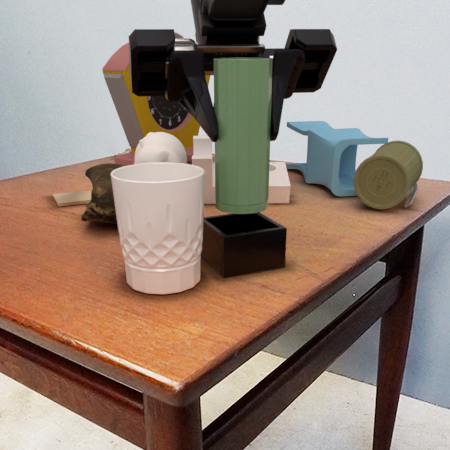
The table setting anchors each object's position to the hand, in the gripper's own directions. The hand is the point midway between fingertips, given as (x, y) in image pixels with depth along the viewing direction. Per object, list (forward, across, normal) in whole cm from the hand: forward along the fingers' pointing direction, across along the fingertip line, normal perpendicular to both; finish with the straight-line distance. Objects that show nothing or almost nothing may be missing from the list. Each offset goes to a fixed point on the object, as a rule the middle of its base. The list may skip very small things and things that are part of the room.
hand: (245, 138), depth 48 cm
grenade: (-4, +21, +16) cm, 27 cm away
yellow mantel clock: (-29, -2, +46) cm, 55 cm away
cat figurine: (-15, -6, +33) cm, 36 cm away
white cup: (+10, -8, +7) cm, 15 cm away
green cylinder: (+4, 0, +6) cm, 7 cm away
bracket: (-9, +5, +26) cm, 28 cm away
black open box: (+8, 0, +10) cm, 12 cm away
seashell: (-5, -11, +22) cm, 25 cm away
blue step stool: (-10, +22, +22) cm, 32 cm away
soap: (-35, -8, +54) cm, 65 cm away
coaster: (-12, -17, +29) cm, 36 cm away
